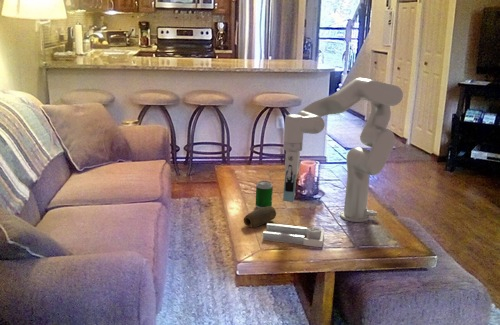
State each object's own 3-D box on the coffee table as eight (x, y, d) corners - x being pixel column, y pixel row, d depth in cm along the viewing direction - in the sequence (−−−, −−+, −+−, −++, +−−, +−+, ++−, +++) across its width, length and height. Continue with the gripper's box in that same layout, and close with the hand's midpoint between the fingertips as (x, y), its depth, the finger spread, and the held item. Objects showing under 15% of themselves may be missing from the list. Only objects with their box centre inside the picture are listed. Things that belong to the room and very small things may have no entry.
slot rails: (306, 234, 204) (306, 227, 203) (303, 244, 195) (304, 237, 194) (267, 229, 207) (267, 223, 206) (262, 239, 198) (263, 232, 197)
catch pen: (323, 235, 203) (324, 230, 203) (321, 247, 193) (322, 241, 192) (306, 233, 205) (306, 228, 204) (303, 245, 194) (303, 239, 194)
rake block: (294, 197, 209) (297, 169, 207) (292, 202, 204) (295, 173, 201) (284, 196, 210) (287, 168, 207) (282, 200, 204) (285, 172, 202)
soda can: (270, 211, 228) (271, 186, 225) (253, 209, 229) (254, 184, 226) (272, 205, 235) (274, 181, 232) (257, 204, 236) (258, 179, 233)
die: (319, 245, 195) (320, 233, 194) (306, 243, 196) (307, 231, 195) (320, 239, 200) (321, 228, 198) (307, 238, 201) (308, 226, 199)
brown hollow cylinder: (264, 217, 221) (264, 202, 219) (276, 221, 217) (277, 206, 215) (241, 226, 210) (242, 211, 208) (254, 231, 206) (255, 216, 204)
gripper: (299, 151, 192) (296, 196, 197) (304, 141, 209) (301, 183, 213) (280, 150, 194) (277, 194, 198) (286, 140, 210) (284, 181, 215)
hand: (290, 188), depth 206 cm, fingers closed on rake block, 6 cm apart
